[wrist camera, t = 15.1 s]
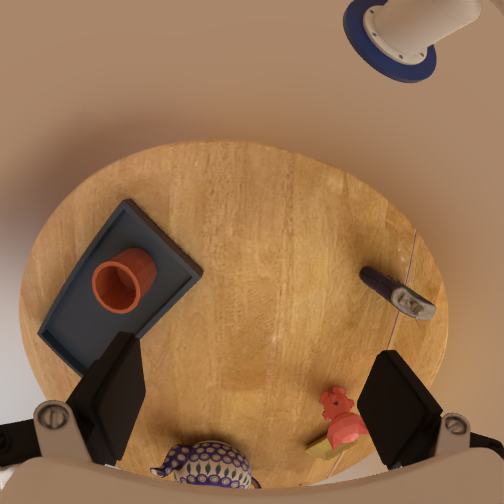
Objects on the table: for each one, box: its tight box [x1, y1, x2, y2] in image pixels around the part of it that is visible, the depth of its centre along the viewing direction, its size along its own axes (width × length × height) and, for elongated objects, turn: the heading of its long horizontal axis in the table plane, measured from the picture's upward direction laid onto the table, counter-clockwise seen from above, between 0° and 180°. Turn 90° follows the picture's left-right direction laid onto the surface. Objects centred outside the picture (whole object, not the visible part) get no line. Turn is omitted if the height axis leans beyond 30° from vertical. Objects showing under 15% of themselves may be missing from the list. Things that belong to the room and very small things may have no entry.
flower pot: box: [92, 247, 157, 314], centre depth 31 cm, size 6×6×7 cm
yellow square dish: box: [305, 433, 358, 461], centre depth 45 cm, size 9×9×2 cm
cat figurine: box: [319, 387, 369, 451], centre depth 36 cm, size 7×7×12 cm
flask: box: [360, 266, 436, 321], centre depth 32 cm, size 9×3×11 cm, turn 64°
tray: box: [37, 199, 204, 378], centre depth 35 cm, size 30×14×3 cm, turn 134°
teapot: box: [150, 441, 262, 489], centre depth 38 cm, size 25×15×15 cm, turn 46°
